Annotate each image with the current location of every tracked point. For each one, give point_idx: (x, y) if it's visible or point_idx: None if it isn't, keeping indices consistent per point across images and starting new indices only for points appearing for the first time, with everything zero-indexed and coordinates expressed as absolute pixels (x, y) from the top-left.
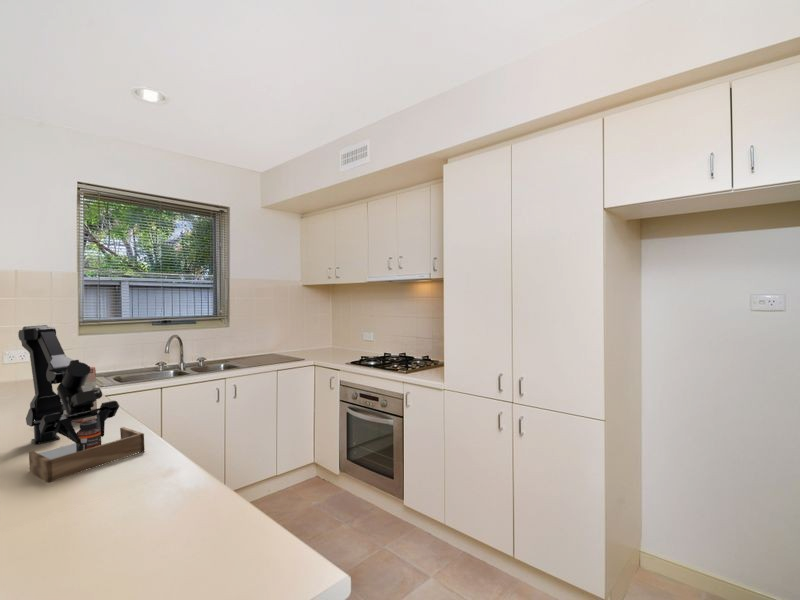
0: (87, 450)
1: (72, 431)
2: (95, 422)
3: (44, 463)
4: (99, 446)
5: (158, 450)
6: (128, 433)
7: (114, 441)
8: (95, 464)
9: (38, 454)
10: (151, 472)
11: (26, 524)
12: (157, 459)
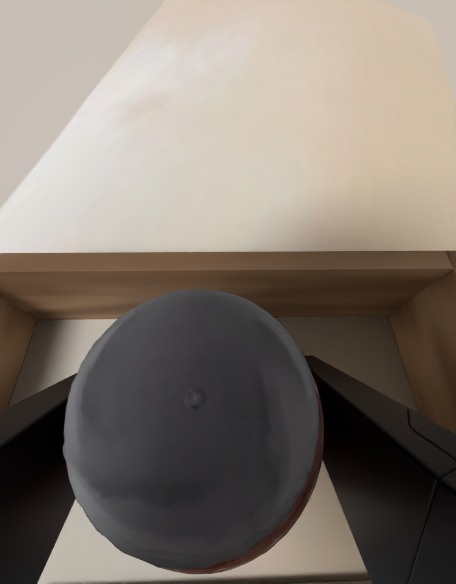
0: (275, 252)
1: (391, 407)
2: (126, 314)
3: None
4: (213, 252)
5: None
6: None
7: (122, 263)
8: None
9: None
10: (163, 132)
11: (430, 117)
12: (85, 190)
